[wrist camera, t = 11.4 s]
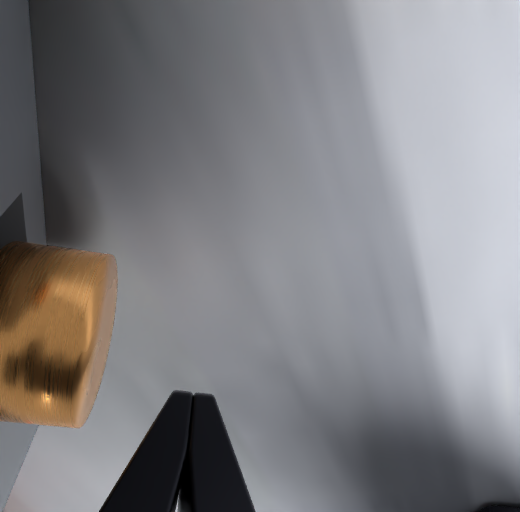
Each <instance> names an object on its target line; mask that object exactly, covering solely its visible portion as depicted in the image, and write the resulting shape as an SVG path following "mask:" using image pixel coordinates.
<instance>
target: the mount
mask: <svg viewBox="0 0 520 512" xmlns="http://www.w3.org/2000/svg"><path fill="white" fill-rule="evenodd" d="M13 241H22V242H28V243H35V244H42V245H47V243H46V229H45V216H44V203H43V190H42V176H41V163H40V150H39V137H38V123H37V110H36V97H35V83H34V70H33V57H32V44H31V30H30V17H29V4H28V0H0V249H1V248H2V247H3V246H5V245H6V244H8V243H10V242H13ZM38 426H39V425H37V424H26V423H15V422H4V421H0V512H3V509H4V507H5V505H6V502H7V500H8V497H9V495H10V493H11V490H12V488H13V485H14V483H15V481H16V478H17V476H18V473H19V471H20V469H21V466H22V464H23V461H24V459H25V457H26V454H27V452H28V449H29V447H30V445H31V442H32V440H33V437H34V435H35V433H36V430H37V428H38Z"/></svg>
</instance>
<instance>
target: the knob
mask: <svg viewBox="0 0 520 512" xmlns="http://www.w3.org/2000/svg"><path fill="white" fill-rule="evenodd" d="M117 282H118V276H117V264H116V260H115V257H114V256H113V255H111V254H104V253H97V252H90V251H83V250H77V249H70V248H63V247H56V246H49V245H42V244H35V243H28V242H22V241H13V242H10V243H8V244H6V245H5V246H3V247H2V248H1V249H0V421H4V422H15V423H26V424H37V425H48V426H59V427H70V428H80V427H82V426H83V425H84V423H85V422H86V420H87V418H88V416H89V414H90V412H91V410H92V407H93V405H94V402H95V399H96V396H97V393H98V390H99V387H100V384H101V380H102V376H103V373H104V369H105V365H106V360H107V356H108V351H109V346H110V341H111V336H112V330H113V324H114V317H115V309H116V299H117Z"/></svg>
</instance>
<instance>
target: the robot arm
mask: <svg viewBox="0 0 520 512" xmlns="http://www.w3.org/2000/svg"><path fill="white" fill-rule="evenodd" d="M178 495H179V499H178ZM177 500H178V512H256V511H255V509H254V506H253V503H252V500H251V497H250V495H249V492H248V489H247V486H246V483H245V481H244V478H243V475H242V472H241V469H240V467H239V464H238V461H237V458H236V455H235V453H234V450H233V447H232V444H231V441H230V439H229V436H228V433H227V430H226V427H225V425H224V422H223V419H222V416H221V413H220V411H219V408H218V405H217V402H216V399H215V397H214V396H213V395H212V394H205V393H195V394H194V395H193V394H192V393H191V392H187V391H177V390H175V391H173V392H172V393H171V395H170V396H169V398H168V400H167V401H166V403H165V404H164V406H163V408H162V409H161V411H160V413H159V414H158V416H157V418H156V419H155V421H154V422H153V424H152V426H151V427H150V429H149V431H148V432H147V434H146V435H145V437H144V439H143V440H142V442H141V444H140V445H139V447H138V448H137V450H136V452H135V453H134V455H133V457H132V458H131V460H130V462H129V463H128V465H127V466H126V468H125V470H124V471H123V473H122V475H121V476H120V478H119V479H118V481H117V483H116V484H115V486H114V488H113V489H112V491H111V493H110V494H109V496H108V497H107V499H106V501H105V502H104V504H103V506H102V507H101V509H100V510H99V512H175V510H176V505H177ZM480 512H520V508H518V507H504V506H489V507H486V508H484V509H482V510H481V511H480Z"/></svg>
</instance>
